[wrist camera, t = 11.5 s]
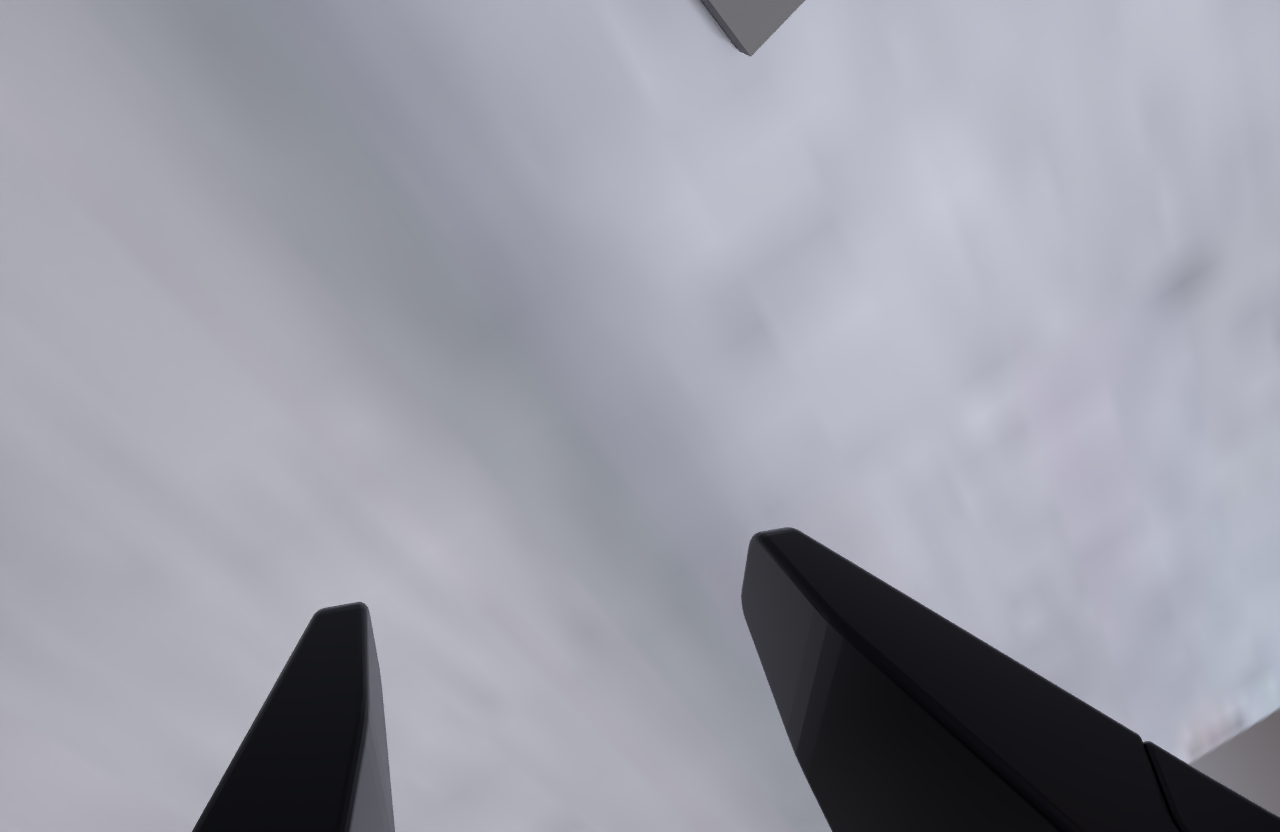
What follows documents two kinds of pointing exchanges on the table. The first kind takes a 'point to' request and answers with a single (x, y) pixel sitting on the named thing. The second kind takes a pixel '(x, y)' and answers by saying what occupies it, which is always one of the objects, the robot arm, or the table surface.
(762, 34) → the mat
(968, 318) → the table surface
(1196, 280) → the table surface
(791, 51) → the table surface
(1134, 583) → the table surface
